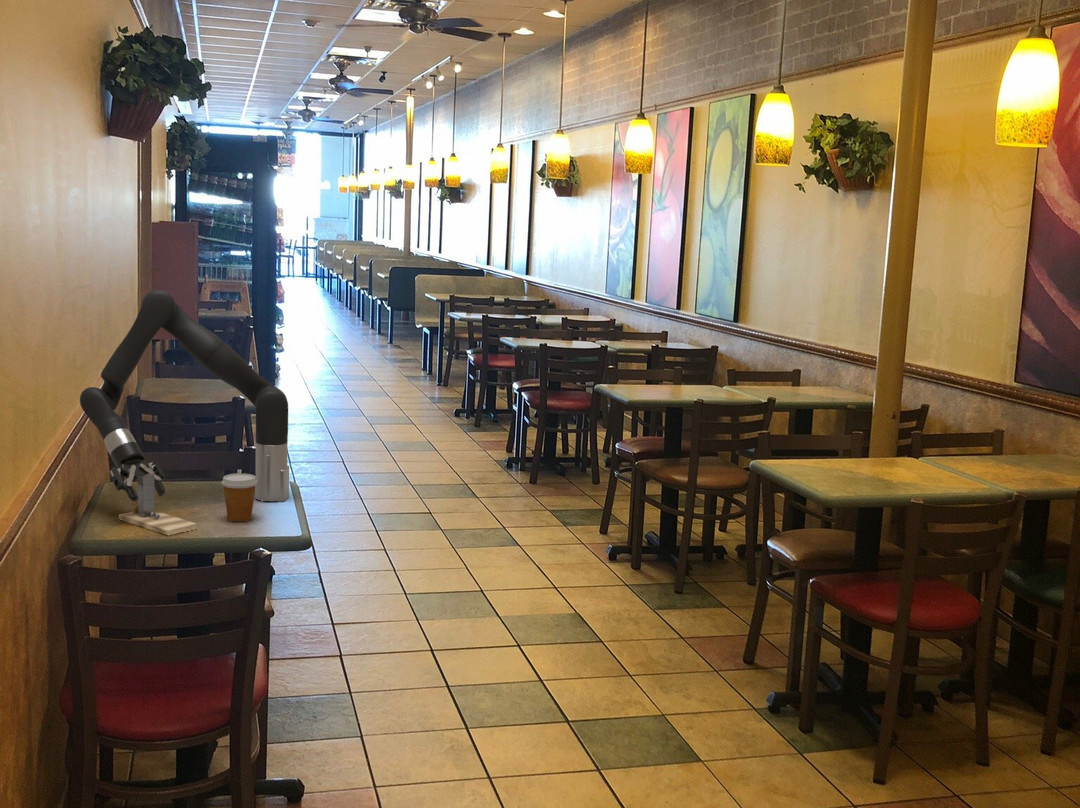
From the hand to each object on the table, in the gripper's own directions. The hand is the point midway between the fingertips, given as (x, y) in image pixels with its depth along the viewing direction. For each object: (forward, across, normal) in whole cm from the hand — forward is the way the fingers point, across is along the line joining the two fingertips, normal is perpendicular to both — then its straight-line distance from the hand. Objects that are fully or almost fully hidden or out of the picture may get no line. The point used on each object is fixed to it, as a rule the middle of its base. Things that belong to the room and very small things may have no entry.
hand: (149, 497), depth 288 cm
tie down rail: (+8, 0, +2) cm, 8 cm away
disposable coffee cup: (+15, +19, -5) cm, 25 cm away
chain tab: (+3, 0, +4) cm, 5 cm away
